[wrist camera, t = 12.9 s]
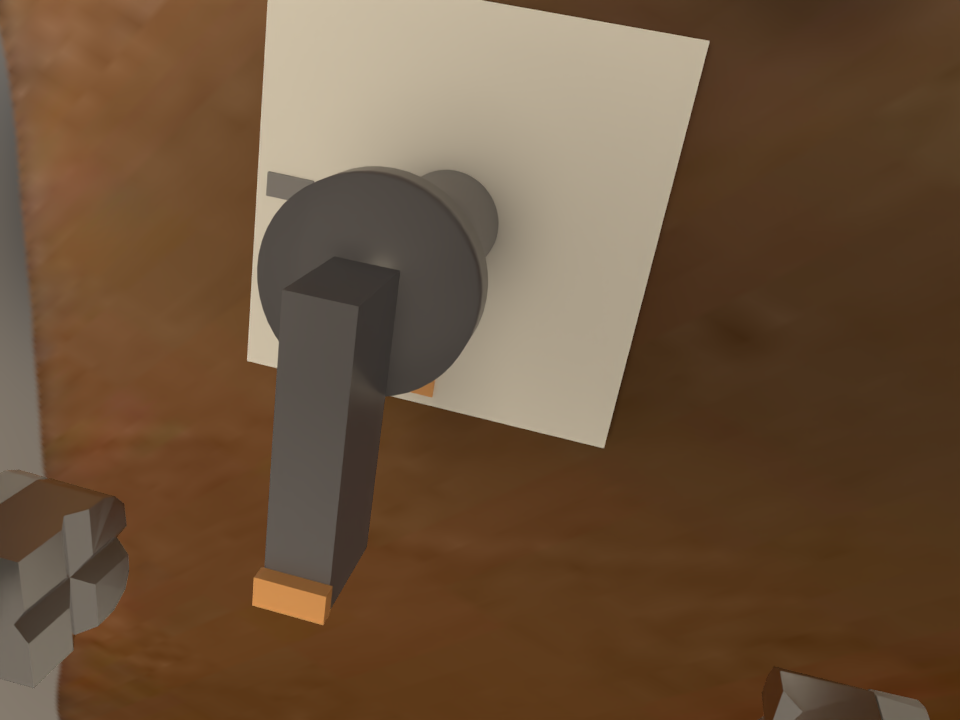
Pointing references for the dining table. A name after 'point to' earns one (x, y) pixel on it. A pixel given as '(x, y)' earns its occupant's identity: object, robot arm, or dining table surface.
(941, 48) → the dining table surface
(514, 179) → the base
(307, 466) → the twist knob
